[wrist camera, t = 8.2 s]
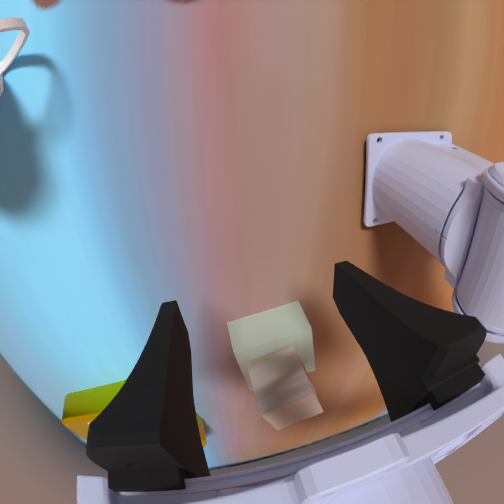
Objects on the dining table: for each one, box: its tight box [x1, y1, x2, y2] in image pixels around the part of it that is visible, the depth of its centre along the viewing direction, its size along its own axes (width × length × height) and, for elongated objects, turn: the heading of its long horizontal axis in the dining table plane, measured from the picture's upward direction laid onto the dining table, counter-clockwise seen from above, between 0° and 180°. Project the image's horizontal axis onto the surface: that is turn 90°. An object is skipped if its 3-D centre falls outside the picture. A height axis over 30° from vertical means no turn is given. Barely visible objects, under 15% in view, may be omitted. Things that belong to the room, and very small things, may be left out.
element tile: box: [62, 380, 206, 447], centre depth 33 cm, size 15×15×5 cm
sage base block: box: [227, 301, 315, 391], centre depth 29 cm, size 7×7×4 cm
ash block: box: [246, 343, 323, 430], centre depth 25 cm, size 4×4×6 cm
